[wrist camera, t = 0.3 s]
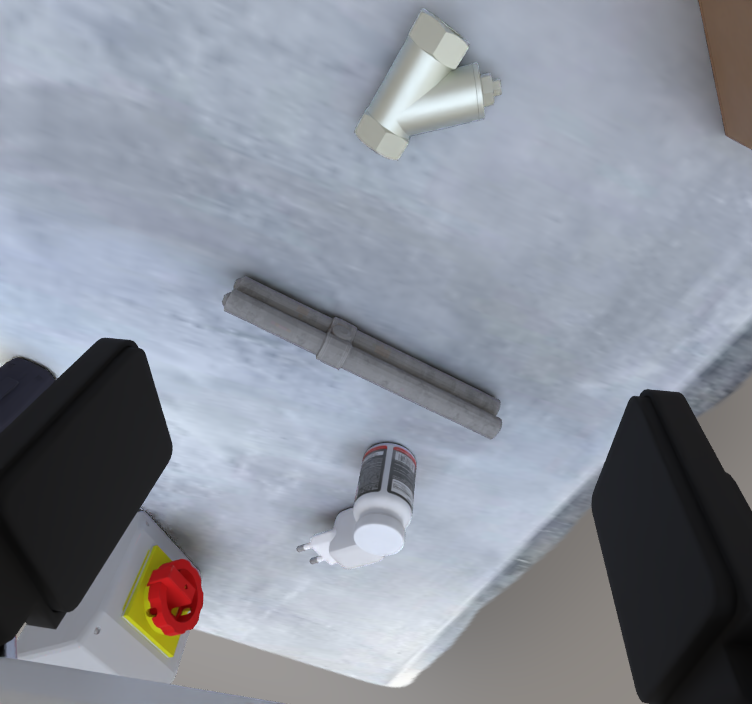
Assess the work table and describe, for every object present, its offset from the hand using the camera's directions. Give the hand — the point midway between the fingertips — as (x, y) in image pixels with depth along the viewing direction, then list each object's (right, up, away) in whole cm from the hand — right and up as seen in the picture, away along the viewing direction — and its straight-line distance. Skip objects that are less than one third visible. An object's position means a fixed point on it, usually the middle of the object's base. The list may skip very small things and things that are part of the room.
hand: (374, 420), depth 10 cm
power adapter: (-3, -19, +52) cm, 55 cm away
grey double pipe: (0, +2, +37) cm, 37 cm away
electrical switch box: (-28, -25, +60) cm, 71 cm away
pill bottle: (+2, -10, +45) cm, 46 cm away
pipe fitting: (+4, +18, +25) cm, 31 cm away
